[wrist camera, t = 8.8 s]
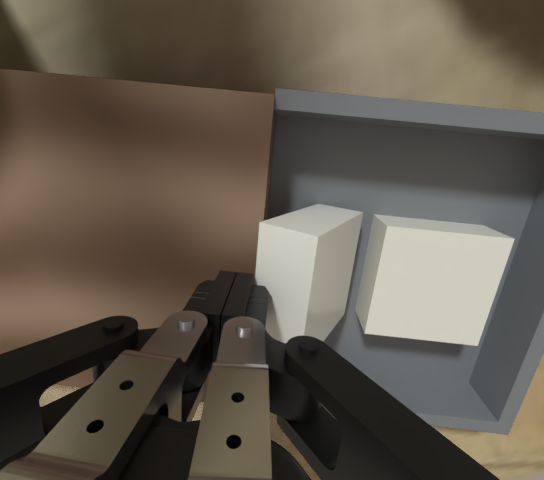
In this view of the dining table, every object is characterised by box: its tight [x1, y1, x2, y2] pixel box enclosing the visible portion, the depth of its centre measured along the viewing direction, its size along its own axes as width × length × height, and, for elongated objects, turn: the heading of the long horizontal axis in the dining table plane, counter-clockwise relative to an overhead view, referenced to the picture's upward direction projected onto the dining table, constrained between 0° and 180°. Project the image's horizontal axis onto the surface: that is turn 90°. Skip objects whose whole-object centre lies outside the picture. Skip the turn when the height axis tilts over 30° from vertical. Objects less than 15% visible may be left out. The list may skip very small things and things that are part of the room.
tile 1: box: [254, 204, 363, 343], centre depth 15 cm, size 6×6×2 cm
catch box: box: [267, 88, 544, 435], centre depth 17 cm, size 17×15×4 cm
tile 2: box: [355, 214, 515, 346], centre depth 17 cm, size 6×6×2 cm
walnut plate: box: [0, 69, 277, 402], centre depth 17 cm, size 16×20×4 cm
